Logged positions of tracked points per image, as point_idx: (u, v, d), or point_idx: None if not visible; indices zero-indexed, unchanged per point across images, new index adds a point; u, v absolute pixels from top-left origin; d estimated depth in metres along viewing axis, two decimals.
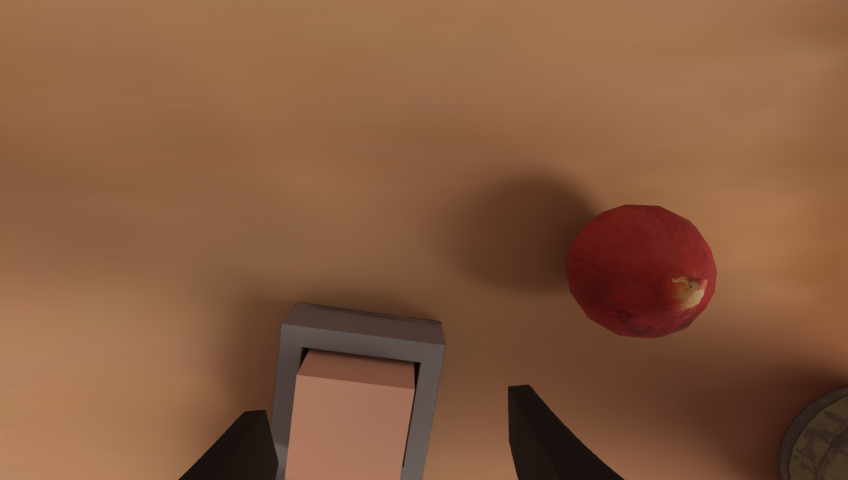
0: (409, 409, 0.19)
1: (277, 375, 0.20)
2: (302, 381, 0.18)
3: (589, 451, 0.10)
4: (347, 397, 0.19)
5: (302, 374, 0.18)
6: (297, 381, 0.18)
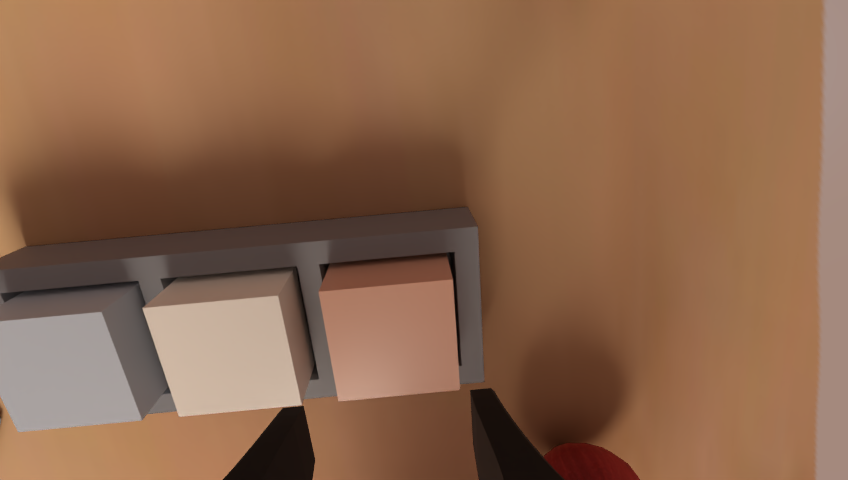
0: (437, 390, 0.18)
1: (415, 233, 0.18)
2: (446, 286, 0.16)
3: (539, 456, 0.10)
4: (436, 333, 0.17)
5: None
6: (444, 281, 0.16)
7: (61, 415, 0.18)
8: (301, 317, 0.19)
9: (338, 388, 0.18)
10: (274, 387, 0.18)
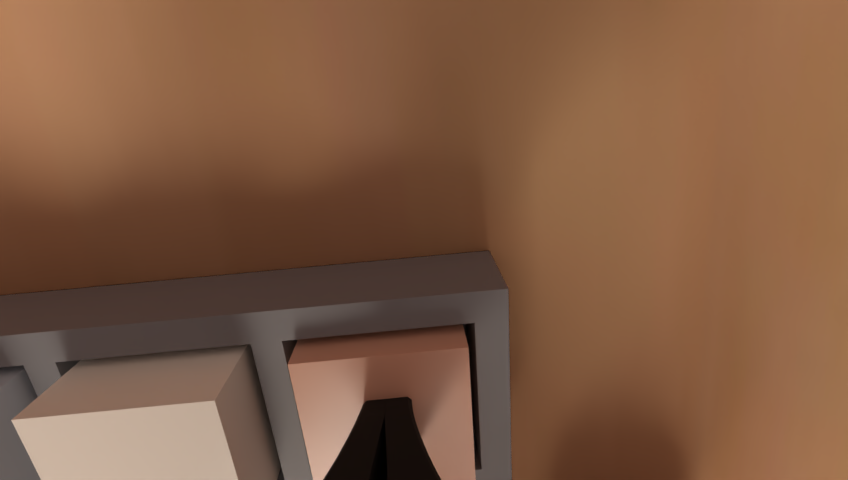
0: None
1: (418, 299, 0.12)
2: (459, 356, 0.12)
3: (430, 467, 0.10)
4: (446, 414, 0.13)
5: (468, 352, 0.12)
6: (457, 349, 0.12)
7: None
8: (259, 409, 0.14)
9: None
10: None
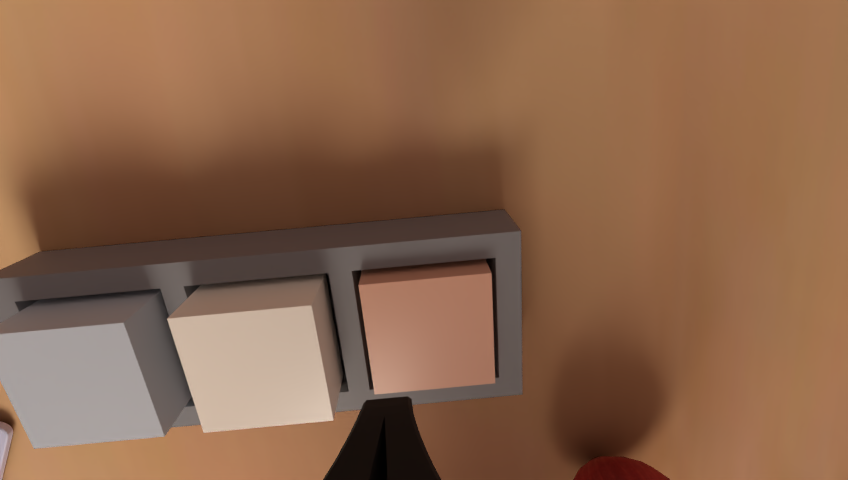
0: (472, 384, 0.18)
1: (454, 238, 0.17)
2: (484, 280, 0.17)
3: (430, 467, 0.10)
4: (474, 326, 0.17)
5: (491, 277, 0.17)
6: (483, 274, 0.17)
7: (79, 431, 0.17)
8: (331, 327, 0.18)
9: (375, 381, 0.18)
10: (305, 402, 0.17)
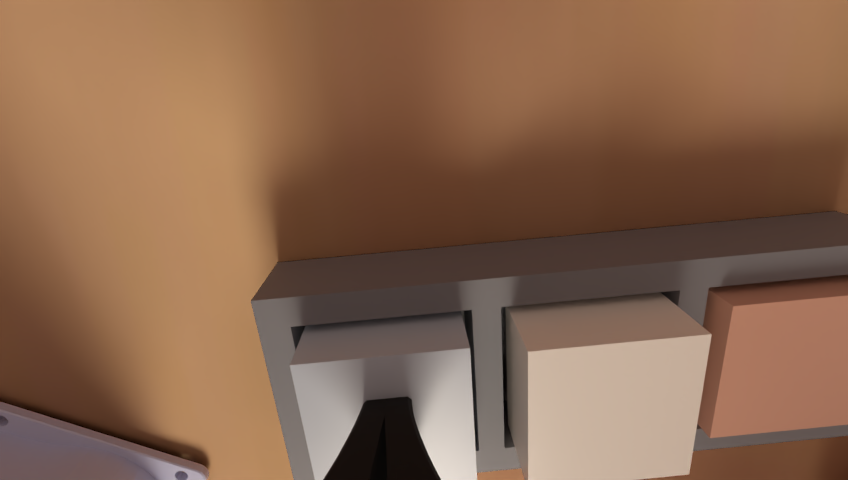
0: (829, 424, 0.15)
1: (844, 247, 0.13)
2: None
3: (430, 467, 0.10)
4: None
5: None
6: None
7: None
8: None
9: (715, 422, 0.15)
10: (662, 452, 0.13)
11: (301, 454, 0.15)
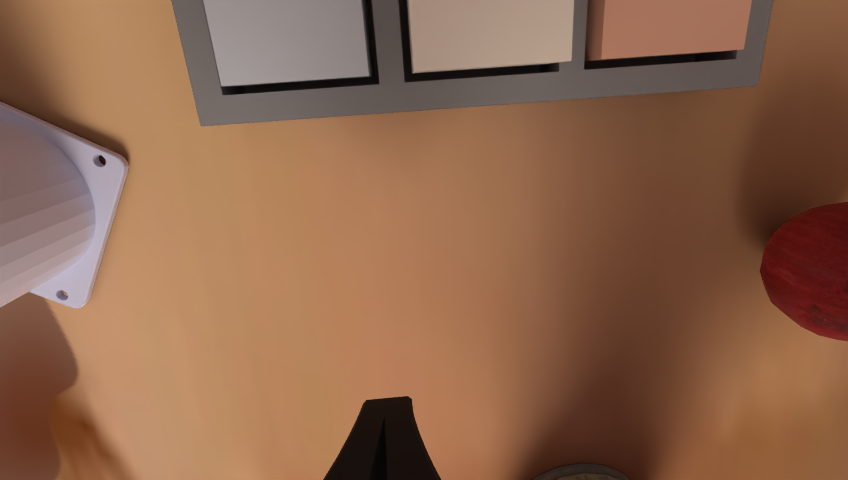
0: (717, 48, 0.15)
1: None
2: None
3: (430, 467, 0.10)
4: None
5: None
6: None
7: (275, 63, 0.15)
8: None
9: (605, 39, 0.15)
10: (543, 28, 0.14)
11: (203, 78, 0.15)
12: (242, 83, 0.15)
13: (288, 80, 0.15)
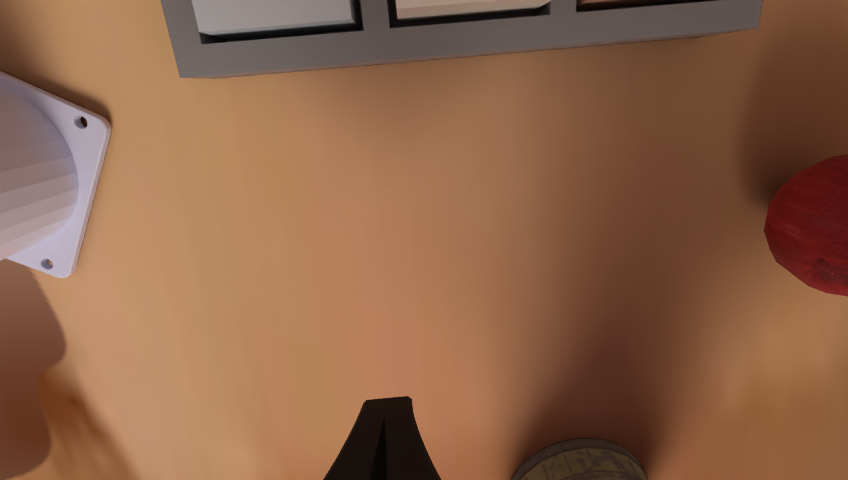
0: None
1: None
2: None
3: (430, 466, 0.10)
4: None
5: None
6: None
7: (254, 6, 0.14)
8: None
9: None
10: None
11: (181, 26, 0.15)
12: (220, 28, 0.14)
13: (268, 25, 0.14)
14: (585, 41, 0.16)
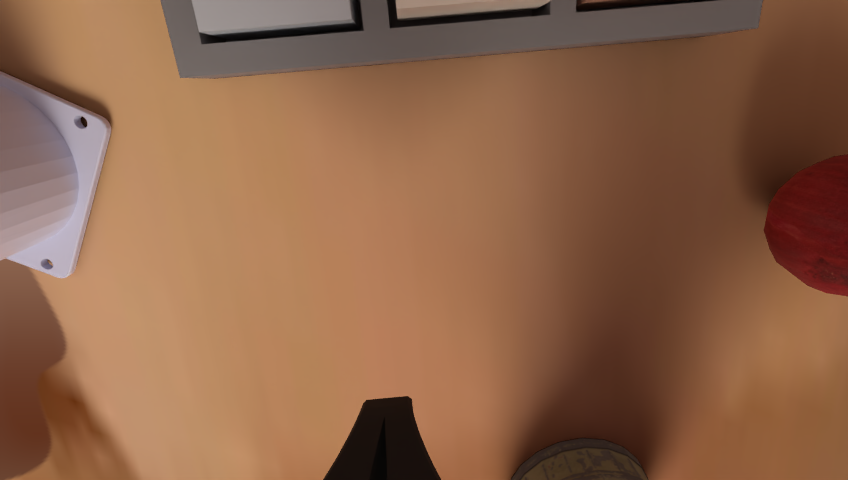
0: None
1: None
2: None
3: (430, 466, 0.10)
4: None
5: None
6: None
7: (254, 6, 0.14)
8: None
9: None
10: None
11: (181, 26, 0.15)
12: (220, 28, 0.14)
13: (268, 25, 0.14)
14: (585, 41, 0.16)
